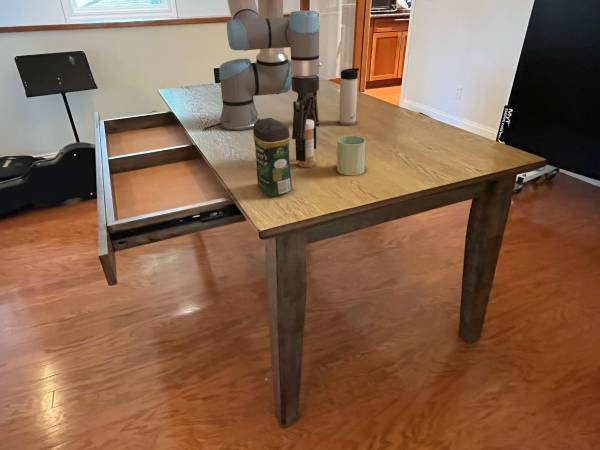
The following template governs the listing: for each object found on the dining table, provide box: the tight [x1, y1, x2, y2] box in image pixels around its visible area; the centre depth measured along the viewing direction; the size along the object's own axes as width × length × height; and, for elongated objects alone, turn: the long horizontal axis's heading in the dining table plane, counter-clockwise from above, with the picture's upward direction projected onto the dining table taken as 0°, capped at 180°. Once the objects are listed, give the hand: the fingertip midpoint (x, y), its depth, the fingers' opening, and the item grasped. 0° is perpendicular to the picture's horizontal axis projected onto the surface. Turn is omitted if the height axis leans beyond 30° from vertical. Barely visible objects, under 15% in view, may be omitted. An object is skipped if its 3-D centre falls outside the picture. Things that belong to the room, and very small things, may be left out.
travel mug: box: [338, 67, 360, 126], centre depth 154 cm, size 6×7×20 cm
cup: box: [336, 134, 367, 176], centre depth 118 cm, size 8×8×9 cm
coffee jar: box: [252, 117, 293, 197], centre depth 105 cm, size 10×8×19 cm
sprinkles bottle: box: [298, 119, 315, 168], centre depth 121 cm, size 5×5×13 cm
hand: (306, 154), depth 122 cm, fingers open, 10 cm apart
